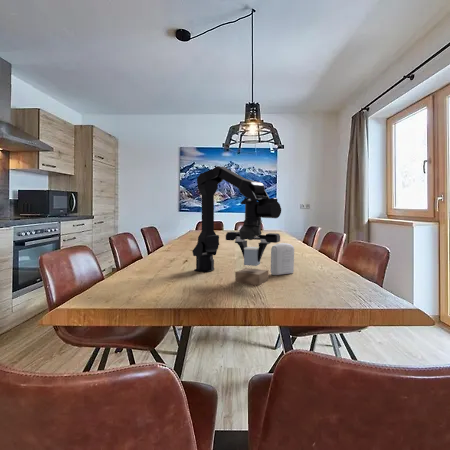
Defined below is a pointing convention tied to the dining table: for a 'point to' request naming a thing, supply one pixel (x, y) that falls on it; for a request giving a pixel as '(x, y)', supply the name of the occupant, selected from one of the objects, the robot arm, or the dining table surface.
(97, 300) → the dining table surface
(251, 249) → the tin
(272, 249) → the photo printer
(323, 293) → the dining table surface
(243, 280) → the walnut block
